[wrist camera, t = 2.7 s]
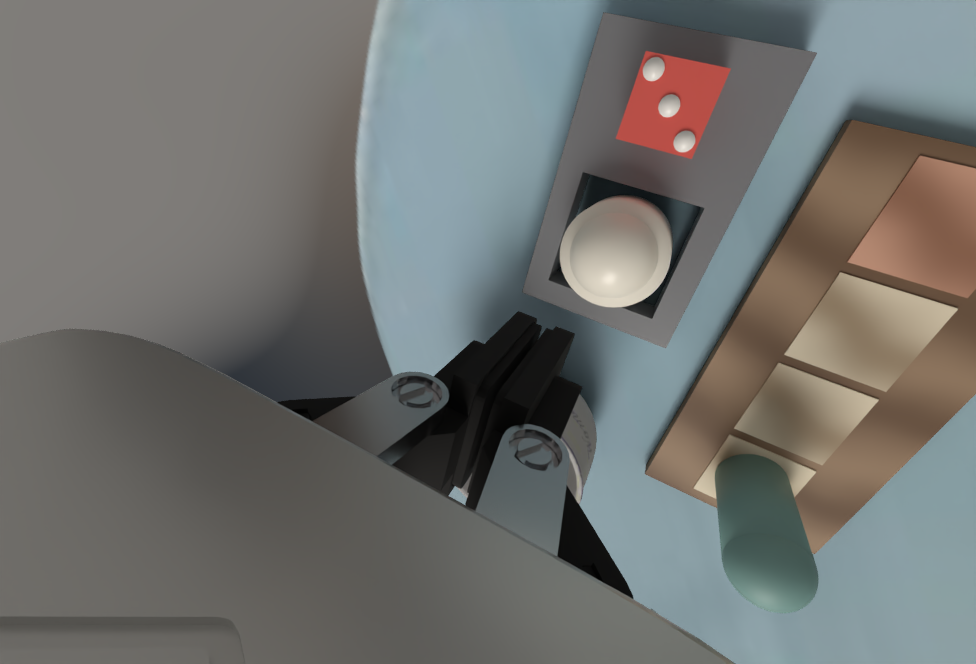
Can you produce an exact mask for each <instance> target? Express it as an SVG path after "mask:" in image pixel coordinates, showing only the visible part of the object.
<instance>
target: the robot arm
mask: <svg viewBox="0 0 976 664" xmlns="http://www.w3.org/2000/svg"><path fill="white" fill-rule="evenodd" d="M536 321H537V319H536V318H534V317H532V316H529V315H527V314H524V313H522V312H519V311H518V312H517V313H516V314H515V315H514V316H513V317H512V318H511V319H510V320H509V321H508V322H507V323H506V324H505V325H504V326H503V327H502V328H501V329H500V330H499V331H498V332H496V333H495V334H494V335H493V336H492V337H491V338H490V339H489V340H488V341H487V342H486V343H485V344H482V343H480V342H478V341H473V342H471V343H470V344H469V345H468V346H467V347H466V348H465V349H463V350H462V351H461V352H460V353H459V354H458V355H457V356H456V357H455V358H453V359H452V360H451V361H450V362H449V363H448V364H447V365H446V366H445V367H444V368H442V369H441V370H440V371H439V372H438V373H437V374H436V375H435V376H431V375H429V374H425V373H421V372H404V373H400V374H397V375H394V376H392V377H390V378H389V379H387V380H385V381H384V382H382V383H380V384H378V385H376V386H374V387H373V388H371V389H369V390H367V391H365V392H364V393H362V394H360V395H358V396H356V397H338V398H320V399H302V400H288V401H281V402H275V401H273V400H271V399H269V398H268V397H266V396H264V395H262V394H260V393H258V392H256V391H254V390H253V389H251V388H249V387H247V386H245V385H243V384H241V383H239V382H238V381H236V380H234V379H232V378H230V377H228V376H227V375H225V374H223V373H221V372H218V371H217V370H215V369H213V368H211V367H209V366H207V365H205V364H203V363H201V362H198V361H196V360H194V359H192V358H190V357H188V356H186V355H184V354H182V353H180V352H178V351H175V350H173V349H170V348H168V347H165V346H163V345H160V344H158V343H155V342H151V341H148V340H144V339H141V338H137V337H134V336H130V335H125V334H119V333H113V332H107V331H99V330H87V329H63V330H56V331H51V332H46V333H41V334H37V335H32V336H27V337H23V338H19V339H14V340H10V341H6V342H3V343H0V664H735V663H734V662H732V661H731V660H729V659H728V658H726V657H725V656H723V655H722V654H720V653H719V652H717V651H716V650H715V649H713V648H712V647H710V646H709V645H707V644H706V643H705V642H703V641H702V640H700V639H699V638H697V637H695V636H694V635H692V634H690V633H689V632H687V631H685V630H684V629H682V628H680V627H679V626H677V625H675V624H674V623H672V622H670V621H669V620H667V619H665V618H664V617H662V616H660V615H659V614H658V613H656V612H655V611H654V610H653V609H649V608H647V607H645V606H644V605H642V604H640V603H639V602H637V601H635V600H634V599H633V595H632V593H631V591H630V589H629V587H628V585H627V582H626V581H625V579H624V577H623V576H622V574H621V573H620V571H619V569H618V568H617V566H616V564H615V563H614V561H613V559H612V558H611V556H610V555H609V553H608V551H607V550H606V548H605V546H604V545H603V543H602V541H601V540H600V538H599V537H598V535H597V533H596V532H595V530H594V528H593V527H592V525H591V524H590V522H589V520H588V519H587V517H586V515H585V514H584V512H583V510H582V509H581V507H580V506H579V504H578V502H577V501H576V499H575V497H574V496H573V494H572V493H571V491H570V489H569V488H568V486H567V478H568V471H569V463H570V459H569V452H568V450H567V448H566V446H565V444H564V443H563V442H562V441H561V440H560V439H561V437H562V435H563V432H564V430H565V427H566V425H567V423H568V420H569V418H570V416H571V413H572V411H573V409H574V406H575V404H576V401H577V399H578V397H579V394H580V392H581V389H582V386H580V385H577V384H575V383H573V382H570V381H568V380H566V379H564V378H561V377H559V375H560V373H561V370H562V367H563V365H564V362H565V359H566V357H567V354H568V351H569V349H570V346H571V344H572V341H573V338H574V335H575V334H574V333H572V332H569V331H567V330H564V329H562V328H559V327H557V326H556V327H555V328H554V330H550V329H548V328H547V329H546V330H545V331H544V333H543V334H542V335H541V337H540V338H539V335H540V331H541V327H542V326H540V325H538V324H536ZM538 338H539V339H538ZM471 474H472V476H471ZM470 476H471V479H470V483H469V486H468V490H467V493H469V494H468V497H467V501H466V506H465V505H464V504H462V503H460V502H458V501H456V500H455V499H453V498H451V497H449V496H448V495H449V494H450V492H451V491H452V489H453V488H454V486H456V487H458V488H460V489H462V488H463V486H464V485H465V483H466V482H467V480H468V479H469V477H470Z"/></svg>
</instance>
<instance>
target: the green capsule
mask: <svg viewBox="0 0 976 664" xmlns="http://www.w3.org/2000/svg"><path fill="white" fill-rule="evenodd" d="M715 488H716V499H717V510H718V521H719V532H720V543H721V554H722V562H723V567H724V570H725V573H726V575H727V577H728V579H729V581H730V582H731V584H732V585H733V587H734V588H735V589H736V590H737V591H738V592H739V593H740V594H741V595H742V596H743V597H744V598H745V599H746V600H748V601H749V602H750V603H752V604H754V605H755V606H757V607H759V608H762V609H764V610H767V611H770V612H775V613H790V612H795V611H798V610H800V609H802V608H804V607H805V606H807V605H808V604H809V603H810V602H811V600H812V599H813V598H814V596H815V594H816V591H817V587H818V571H817V567H816V564H815V561H814V558H813V554H812V551H811V548H810V545H809V542H808V539H807V535H806V532H805V529H804V526H803V523H802V520H801V517H800V513H799V510H798V507H797V504H796V501H795V498H794V494H793V491H792V488H791V485H790V482H789V479H788V476H787V474H786V472H785V471H784V469H783V468H782V467H781V466H780V465H778V464H777V463H776V462H774V461H772V460H770V459H768V458H766V457H763V456H759V455H754V454H740V455H735V456H732V457H729V458H727V459H725V460H724V461H722V462H721V463H720V464H719V466H718V467H717V469H716V471H715Z"/></svg>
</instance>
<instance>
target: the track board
mask: <svg viewBox="0 0 976 664" xmlns="http://www.w3.org/2000/svg"><path fill="white" fill-rule="evenodd" d="M975 394H976V147H972V146H968V145H963V144H959V143H954V142H950V141H945V140H941V139H936V138H932V137H928V136H923V135H919V134H914V133H910V132H905V131H901V130H896V129H892V128H887V127H883V126H878V125H874V124H869V123H865V122H860V121H856V120H847V121H845V123H844V125H843V126H842V128H841V130H840V132H839V133H838V135H837V137H836V139H835V140H834V142H833V144H832V145H831V147H830V149H829V151H828V152H827V154H826V156H825V158H824V159H823V161H822V163H821V164H820V166H819V168H818V170H817V171H816V173H815V175H814V177H813V178H812V180H811V182H810V183H809V185H808V187H807V189H806V190H805V192H804V194H803V196H802V197H801V199H800V201H799V202H798V204H797V206H796V208H795V209H794V211H793V213H792V215H791V216H790V218H789V220H788V221H787V223H786V225H785V227H784V228H783V230H782V232H781V234H780V235H779V237H778V239H777V240H776V242H775V244H774V246H773V247H772V249H771V251H770V253H769V254H768V256H767V258H766V259H765V261H764V263H763V265H762V266H761V268H760V270H759V272H758V273H757V275H756V277H755V278H754V280H753V282H752V284H751V285H750V287H749V289H748V291H747V292H746V294H745V296H744V297H743V299H742V301H741V303H740V304H739V306H738V308H737V310H736V311H735V313H734V315H733V316H732V318H731V320H730V322H729V323H728V325H727V327H726V329H725V330H724V332H723V334H722V335H721V337H720V339H719V341H718V342H717V344H716V346H715V348H714V349H713V351H712V353H711V354H710V356H709V358H708V360H707V361H706V363H705V365H704V367H703V368H702V370H701V372H700V373H699V375H698V377H697V379H696V380H695V382H694V384H693V386H692V387H691V389H690V391H689V392H688V394H687V396H686V398H685V399H684V401H683V403H682V405H681V406H680V408H679V410H678V411H677V413H676V415H675V417H674V418H673V420H672V422H671V424H670V425H669V427H668V429H667V430H666V432H665V434H664V436H663V437H662V439H661V441H660V443H659V444H658V446H657V448H656V449H655V451H654V453H653V455H652V456H651V458H650V460H649V462H648V463H647V465H646V470H645V474H646V475H648V476H650V477H652V478H654V479H657V480H659V481H661V482H663V483H665V484H667V485H669V486H671V487H673V488H676V489H678V490H680V491H682V492H684V493H686V494H688V495H690V496H693V497H695V498H697V499H699V500H701V501H703V502H705V503H707V504H709V505H712V506H714V507H716V508H717V499H716V488H715V471H716V469H717V467H718V466H719V464H720V463H721V462H722V461H724V460H725V459H727V458H729V457H732V456H735V455H740V454H754V455H759V456H763V457H766V458H768V459H770V460H772V461H774V462H776V463H777V464H778V465H780V466H781V467H782V468H783V469H784V471H785V472H786V474H787V476H788V479H789V482H790V485H791V488H792V491H793V494H794V498H795V501H796V504H797V507H798V510H799V513H800V517H801V520H802V523H803V526H804V529H805V532H806V535H807V539H808V542H809V545H810V548H811V551H812V553H813V554H815V553H816V552H817V551H818V550H819V549H820V548H821V547H822V546H823V545H824V544H825V543H826V542H827V541H828V540H829V539H830V538H831V537H832V536H833V535H834V534H836V533H837V532H838V531H839V530H840V529H841V528H842V527H843V526H844V525H845V524H846V523H847V522H848V521H849V520H850V519H851V518H852V517H853V516H854V515H855V514H856V513H857V512H858V511H859V510H860V509H861V508H862V507H863V506H864V505H865V504H866V503H867V502H868V501H869V500H870V499H871V498H872V497H873V496H874V495H875V494H876V493H877V492H878V491H879V490H880V489H881V488H882V487H883V486H884V485H885V484H886V483H887V482H888V481H889V480H890V479H891V478H892V477H893V476H894V475H895V474H896V473H897V472H898V471H899V470H900V469H901V468H902V467H903V466H904V465H905V464H906V463H907V462H908V461H909V460H910V459H911V458H912V457H913V456H914V455H915V454H916V453H917V452H918V451H919V450H920V449H921V448H922V447H923V446H924V445H925V444H926V443H927V442H928V441H929V440H930V439H931V438H932V437H933V436H934V435H935V434H936V433H937V432H938V431H939V430H940V429H941V428H942V427H943V426H944V425H945V424H946V423H947V422H948V421H949V420H950V419H951V418H952V417H953V416H954V415H955V414H956V413H957V412H958V411H959V410H960V409H961V408H962V407H963V406H964V405H965V404H966V403H967V402H968V401H969V400H970V399H971V398H972V397H973V396H974V395H975Z"/></svg>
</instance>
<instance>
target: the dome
mask: <svg viewBox="0 0 976 664" xmlns="http://www.w3.org/2000/svg"><path fill="white" fill-rule="evenodd" d="M672 248H673V235H672V230H671V227H670V224H669V222H668V220H667V218H666V216H665V215H664V213H663V212H662V211H661V210H660V209H659V208H658V207H657V206H656V205H654V204H653V203H652V202H650V201H648V200H646V199H644V198H641V197H638V196H633V195H616V196H611V197H608V198H605V199H603V200H601V201H599V202H597V203H596V204H594V205H592V206H591V207H589V208H587V209H586V210H584V211H583V212H581V213H580V214H579V215H578V216H577V217H576V218H575V219H574V220H573V221H572V222H571V224H570V225H569V226H568V228H567V230H566V232H565V234H564V236H563V239H562V242H561V247H560V263H561V268H562V272H563V274H564V277H565V279H566V280H567V282H568V284H569V285H570V286H571V288H572V289H573V290H574V291H575V292H576V293H577V294H578V295H579V296H581V297H582V298H584V299H585V300H587V301H589V302H591V303H593V304H596V305H599V306H604V307H613V308H615V307H625V306H629V305H633V304H636V303H638V302H640V301H642V300H644V299H645V298H647V297H648V296H650V295H651V294H652V293H653V292H654V291H655V290H656V289H657V288H658V287H659V286H660V284H661V283H662V282H663V280H664V278H665V276H666V274H667V272H668V269H669V265H670V261H671V255H672Z"/></svg>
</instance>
